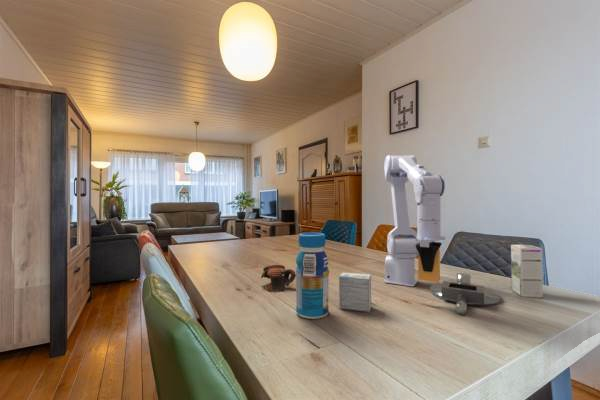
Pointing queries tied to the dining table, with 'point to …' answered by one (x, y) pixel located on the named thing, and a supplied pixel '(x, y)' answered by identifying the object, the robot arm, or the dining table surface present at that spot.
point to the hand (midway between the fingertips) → (428, 269)
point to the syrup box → (527, 270)
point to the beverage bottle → (312, 277)
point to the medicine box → (355, 291)
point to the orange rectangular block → (435, 273)
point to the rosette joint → (464, 293)
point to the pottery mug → (278, 277)
